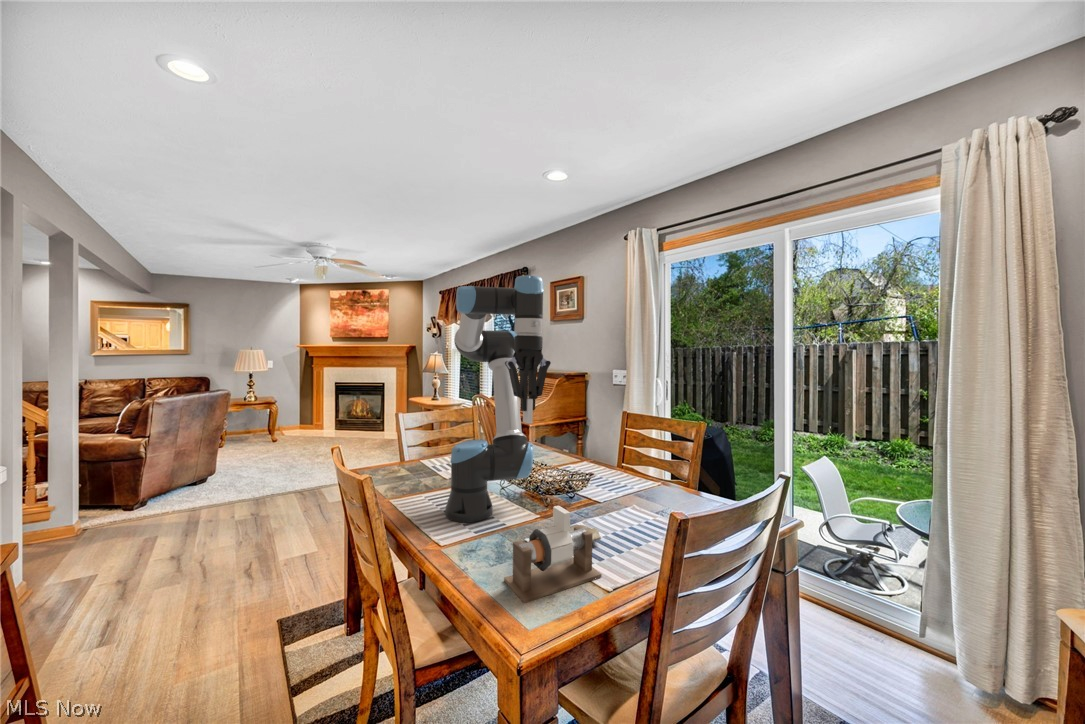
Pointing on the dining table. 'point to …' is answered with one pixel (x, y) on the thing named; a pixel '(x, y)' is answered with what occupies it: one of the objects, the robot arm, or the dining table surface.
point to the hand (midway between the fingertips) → (527, 422)
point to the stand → (550, 572)
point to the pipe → (576, 538)
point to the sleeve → (559, 537)
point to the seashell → (595, 532)
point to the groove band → (538, 550)
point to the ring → (546, 547)
